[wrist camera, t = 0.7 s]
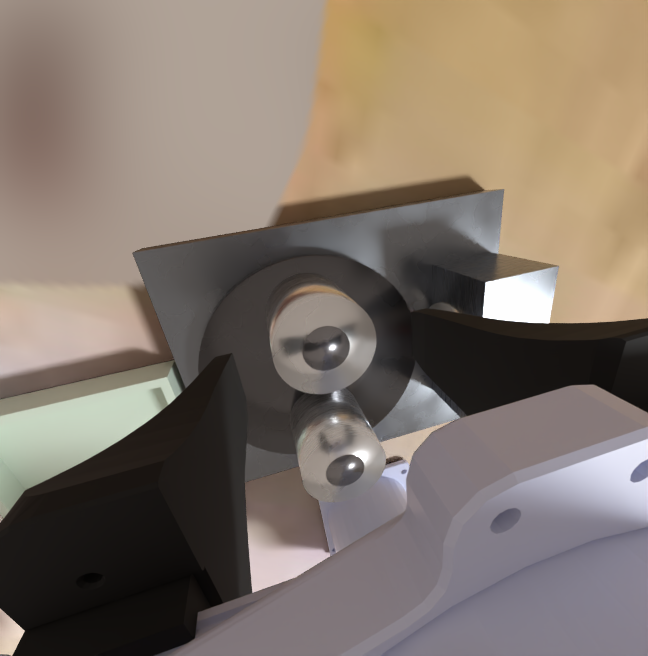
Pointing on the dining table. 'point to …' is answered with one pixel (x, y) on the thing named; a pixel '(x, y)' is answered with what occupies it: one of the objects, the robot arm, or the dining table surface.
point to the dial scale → (361, 286)
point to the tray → (76, 423)
